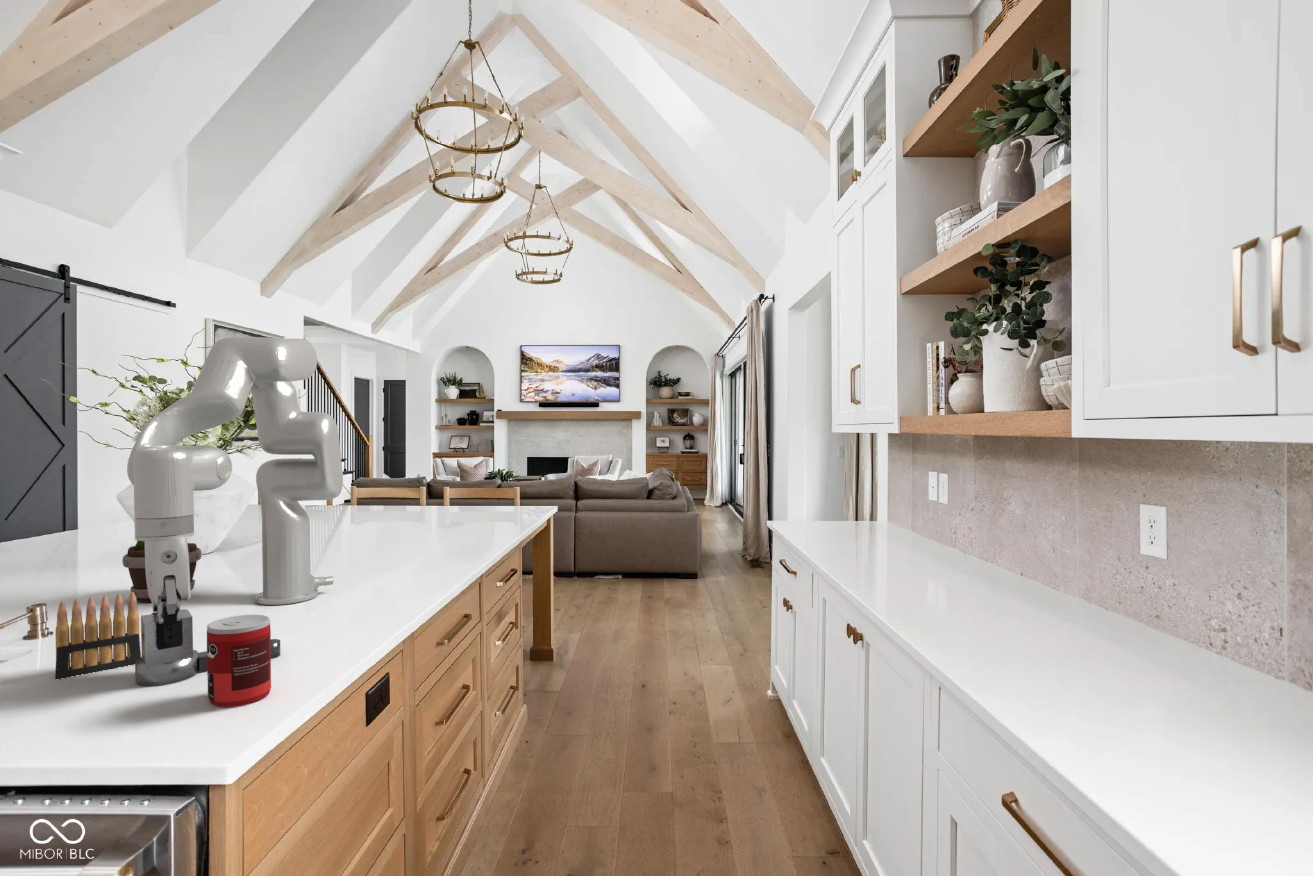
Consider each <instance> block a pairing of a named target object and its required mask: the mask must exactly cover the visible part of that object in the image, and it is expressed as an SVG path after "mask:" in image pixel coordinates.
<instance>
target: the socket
mask: <svg viewBox="0 0 1313 876" xmlns="http://www.w3.org/2000/svg"><path fill="white" fill-rule="evenodd" d="M154 613H155V612H154ZM181 619H182V630H183V644H182V645H181V646H179V647H173V648H167V649H162V650H158V649H157V636H156V623H159V621H158V613H155V614H152V613H150V614H145V615H144V614H143V615H140V634H141V636H140V638H141V640H140V641H141V642H140V649H141V658H142V659H143V662H144V665H145V667H147V666H152V665H157V664H162V663H168V662H173V661H178V660H184V659H189V658H193V650H194V639H193V636H194V634H193V633H194V632H193V630H194V629H193V615H192V614H191V612H190V610H189V609H188V608H183V609H181Z"/></svg>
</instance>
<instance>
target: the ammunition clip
mask: <svg viewBox="0 0 1313 876" xmlns="http://www.w3.org/2000/svg"><path fill="white" fill-rule="evenodd" d="M127 602H128V604H127V607H128V608H127V616H126V617H125V609H124V601H123V598H122V595H121V594H120V593H117V595H116V597H115V600H114V607H113V608H114V609H113V610H114V611H113V620H112V618H111V610H110V608H111V607H110V603H109V600H108V597H107V596H106V595H103V597H102V598H101V602H100V609H99V611H100V612H99V613H100V614H99V620H98V621H99V622H98V621H97V614H96V612H97V610H96V605H95V601H94V599H93V598H92V597H89V599H88V601H87V604H86V608H85V609H86V610H85V622H84V623H83V617H82V616H83V615H82V613H83V612H82V606H81V604H80V601H79V600H78V599H77V598H76V599H74V602H73V604H72V608H71V609H72V610H71V620H70V621H71V624H70V626H69V624H68V621H69V620H68V612H67V607H66V604H65V602H64V600H63V601H62V600H61V601H60V602H59V604H58V607H57V613H56V627H55V669H54V670H55V672H54V679H55V680H56V679H59V680H62V679H61V678H64V679H68V678H67V677H69V678H72V677H71V676H74V677H77V676H76V675H79V676H82V675H81V674H84V675H90V674H94V673H93V672H95V673H100V672H104V671H103V670H105V671H109V669H110V670H115V669H119V668H118V667H121V668H125V667H124V666H126V667H129V666H128V665H131V666H135V665H134V664H135V662H136V660H138V659H140V658H142V649H141V642H140V641H141V640H140V638H141V636H140V616H139V612H138V611H139V610H138V601H137V599H136V596H135V594H134V592H131V591H130V594H129V598H128V601H127ZM99 671H100V672H99ZM89 673H90V674H89Z"/></svg>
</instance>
